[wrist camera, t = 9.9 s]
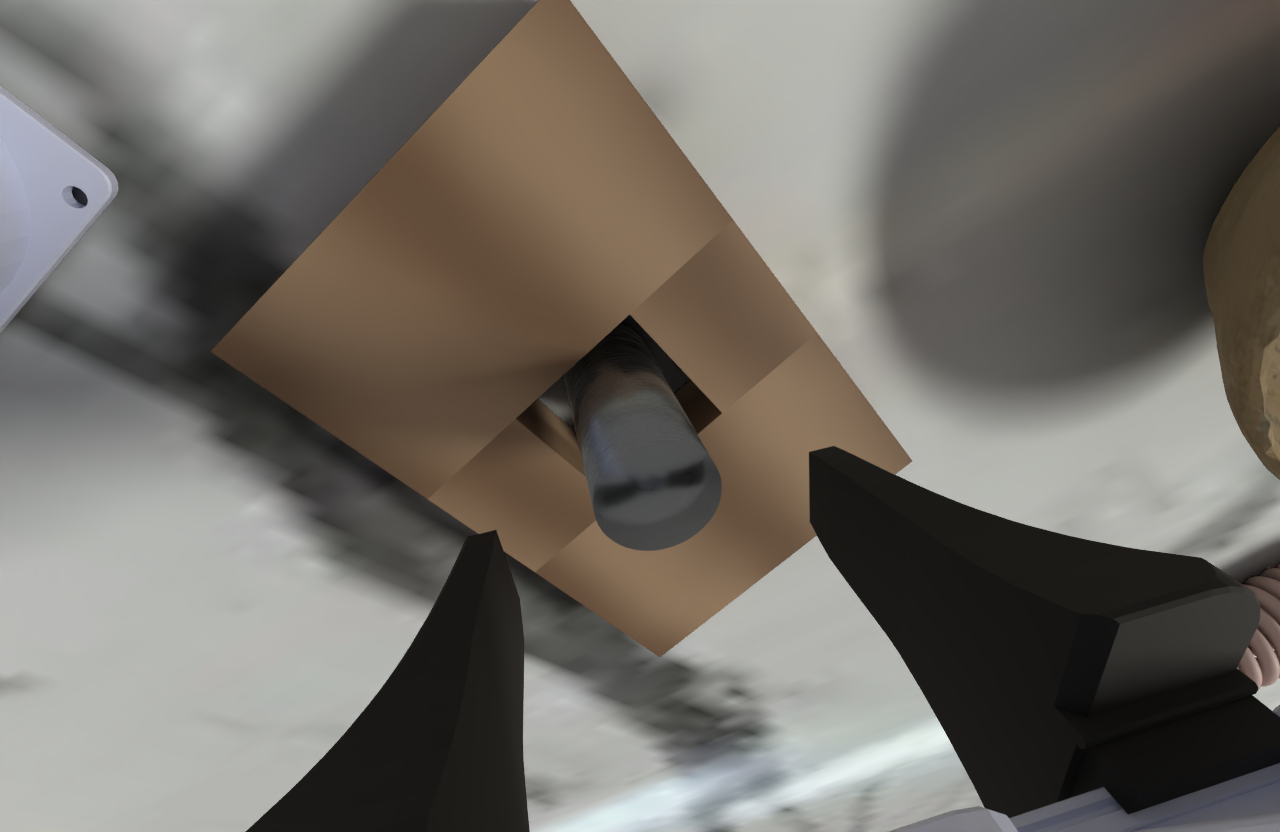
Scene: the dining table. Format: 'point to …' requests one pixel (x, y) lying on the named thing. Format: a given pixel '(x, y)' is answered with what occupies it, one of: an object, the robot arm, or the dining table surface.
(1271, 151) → the bowl
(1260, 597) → the coil
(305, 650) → the dining table surface
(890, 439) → the hole plate
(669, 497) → the tall pin
